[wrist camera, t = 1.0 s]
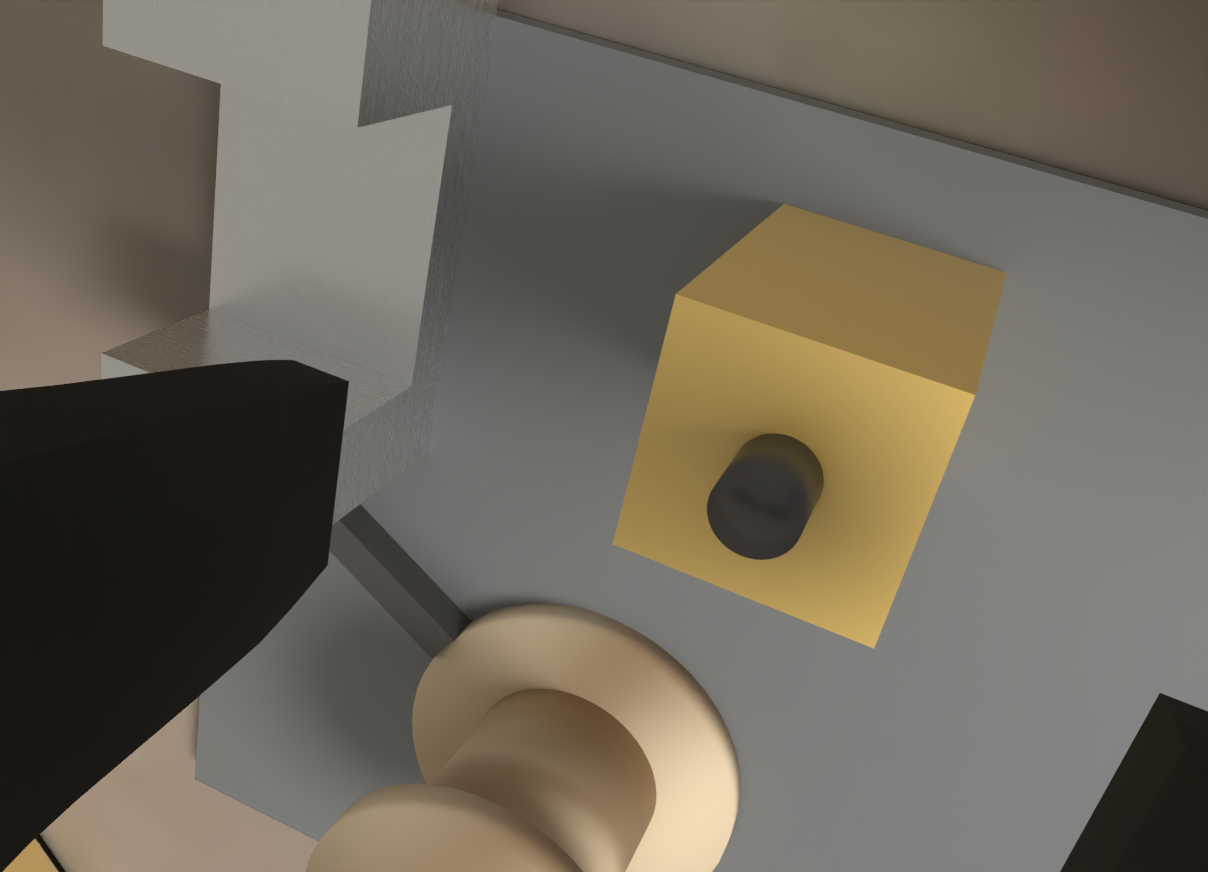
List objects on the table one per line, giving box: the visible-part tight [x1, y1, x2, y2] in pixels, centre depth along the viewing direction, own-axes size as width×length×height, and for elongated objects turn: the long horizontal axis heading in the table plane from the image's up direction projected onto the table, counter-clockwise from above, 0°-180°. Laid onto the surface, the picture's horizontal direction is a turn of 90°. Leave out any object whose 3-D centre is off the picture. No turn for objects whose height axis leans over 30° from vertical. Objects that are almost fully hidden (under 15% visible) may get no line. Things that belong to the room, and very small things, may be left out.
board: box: [195, 9, 1208, 872], centre depth 20 cm, size 18×18×1 cm
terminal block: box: [101, 0, 499, 525], centre depth 17 cm, size 4×8×4 cm, turn 167°
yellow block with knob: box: [613, 204, 1007, 648], centre depth 14 cm, size 3×3×6 cm
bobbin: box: [306, 603, 741, 872], centre depth 19 cm, size 6×6×5 cm
